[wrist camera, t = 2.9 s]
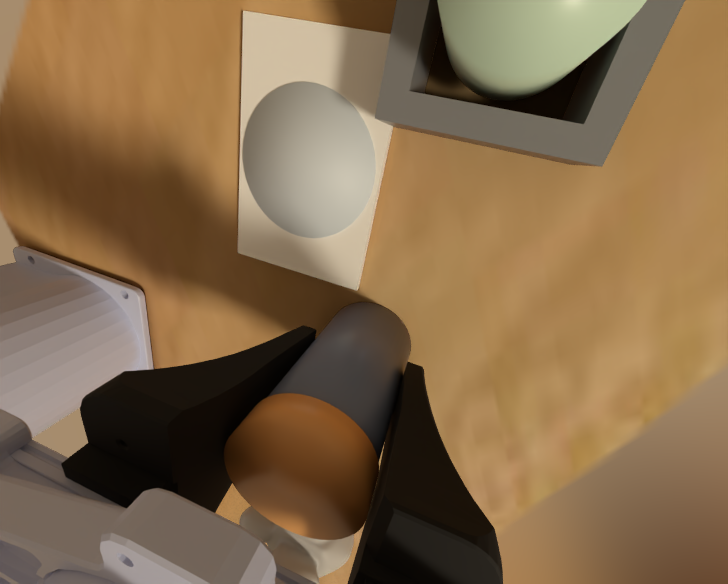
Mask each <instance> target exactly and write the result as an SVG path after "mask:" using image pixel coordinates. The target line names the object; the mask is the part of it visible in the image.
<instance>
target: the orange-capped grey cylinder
mask: <svg viewBox="0 0 728 584" xmlns="http://www.w3.org/2000/svg"><path fill="white" fill-rule="evenodd" d="M410 351H411V340H410V335H409V333H408V330H407V328H406V326H405V325H404V323H403V322H402V321H401V319H400V318H399V317H398V316H397V315H396V314H394V313H393V312H392V311H390V310H389V309H387V308H385V307H383V306H380V305H378V304H374V303H368V302H360V303H354V304H350V305H348V306H346V307H344V308H342V309H341V310H340V311H339V312H338V313H337V314H336V315H335V316H334V317H333V319H332V320H331V321H330V322H329V323H328V325H327V326H326V327H325V328H324V329H323V331H322V332H321V333H320V334H319V335H318V337H317V338H316V339H315V340H314V341H313V343H312V344H311V345H310V346H309V348H308V349H307V350H306V351H305V352H304V354H303V355H302V356H301V357H300V358H299V360H298V361H297V362H296V363H295V364H294V366H293V367H292V368H291V369H290V370H289V372H288V373H287V374H286V375H285V376H284V378H283V379H282V380H281V381H280V382H279V384H278V385H277V386H276V387H275V388H274V390H273V391H272V392H271V393H270V394H269V396H268V397H267V398H265V399H263V400H262V401H260V402H259V403H258V404H257V405H256V406H255V407H254V408H253V409H252V411H251V412H250V413H249V414H248V415H247V417H246V418H245V419H244V420H243V421H242V422H241V424H240V425H239V426H238V427H237V428H236V429H235V431H234V432H233V433H232V434H231V435H230V437H229V438H228V440H227V442H226V444H225V448H224V462H225V466H226V470H227V472H228V475H229V477H230V479H231V481H232V483H233V484H234V486H235V487H236V489H237V490H238V492H239V493H240V494H241V496H242V497H243V498H244V499H245V500H246V501H247V502H248V503H249V504H250V505H251V506H252V507H253V508H254V509H255V510H257V511H258V512H259V513H260V514H261V515H263V516H264V517H266V518H267V519H268V520H270V521H272V522H273V523H275V524H276V525H278V526H280V527H282V528H284V529H286V530H288V531H291V532H293V533H296V534H298V535H301V536H305V537H309V538H313V539H319V540H337V539H343V538H346V537H349V536H351V535H353V534H355V533H356V532H357V531H359V530H360V529H361V527H362V526H363V525H364V523H365V521H366V519H367V515H368V511H369V508H370V504H371V501H372V497H373V493H374V490H375V486H376V482H377V479H378V474H379V463H378V462H379V459H380V455H381V452H382V449H383V445H384V442H385V438H386V435H387V431H388V428H389V424H390V421H391V417H392V414H393V410H394V407H395V403H396V400H397V396H398V391H399V388H400V384H401V381H402V378H403V374H404V371H405V368H406V365H407V362H408V358H409V355H410Z"/></svg>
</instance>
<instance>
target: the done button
mask: <svg viewBox="0 0 728 584" xmlns="http://www.w3.org/2000/svg"><path fill="white" fill-rule="evenodd" d="M437 1H438V7H439V12H440V18H441V23H442V29H443V34H444V40H445V45H446V50H447V54H448V58H449V61H450V63H451V65H452V68H453V70H454V71H455V73H456V75H457V76H458V78H459V79H460V80H461V81H462V83H463V84H465V85H466V86H467V87H468V88H469V89H470V90H472V91H473V92H475V93H476V94H478V95H481V96H483V97H485V98H489V99H493V100H500V101H513V100H519V99H524V98H527V97H530V96H533V95H536V94H538V93H540V92H542V91H544V90H546V89H548V88H549V87H551V86H553V85H554V84H556V83H557V82H558V81H560V80H561V79H563V78H564V77H565V76H566V75H567V74H569V73H570V72H571V71H572V70H574V69H575V68H576V67H577V66H578V65H580V64H581V63H582V62H583V61H584V60H586V59H587V58H588V57H589V56H591V55H592V54H593V53H594V52H595V51H597V50H598V49H599V48H600V47H601V46H603V45H604V44H605V43H606V42H607V41H609V40H610V39H611V38H612V37H613V36H614V35H615V34H617V33H618V32H619V31H620V30H621V29H622V28H623V27H624V26H625V25H626V24H627V23H628V22H629V21H630V20H631V19H632V18H633V17H634V16H635V15H636V13H637V12H638V11H639V10H640V9H641V8H642V6H643V5H644V4H645V2H646V1H647V0H437Z"/></svg>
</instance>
